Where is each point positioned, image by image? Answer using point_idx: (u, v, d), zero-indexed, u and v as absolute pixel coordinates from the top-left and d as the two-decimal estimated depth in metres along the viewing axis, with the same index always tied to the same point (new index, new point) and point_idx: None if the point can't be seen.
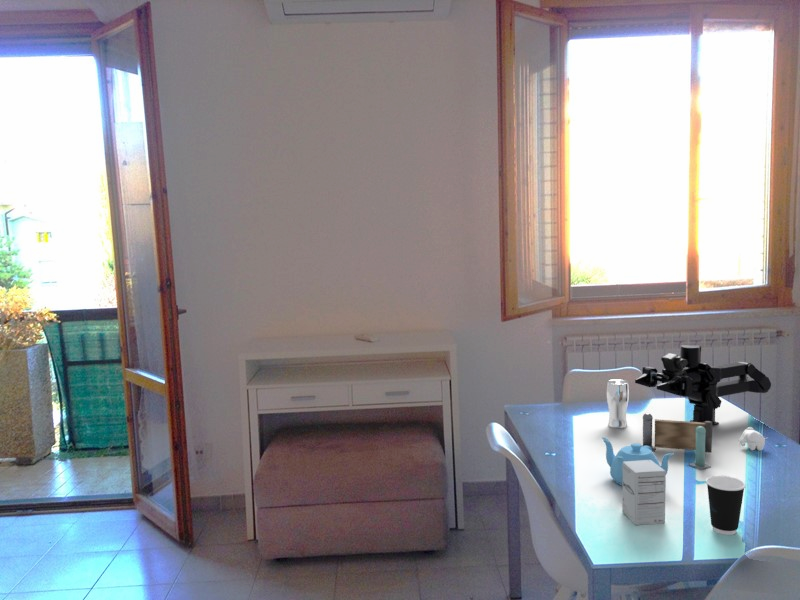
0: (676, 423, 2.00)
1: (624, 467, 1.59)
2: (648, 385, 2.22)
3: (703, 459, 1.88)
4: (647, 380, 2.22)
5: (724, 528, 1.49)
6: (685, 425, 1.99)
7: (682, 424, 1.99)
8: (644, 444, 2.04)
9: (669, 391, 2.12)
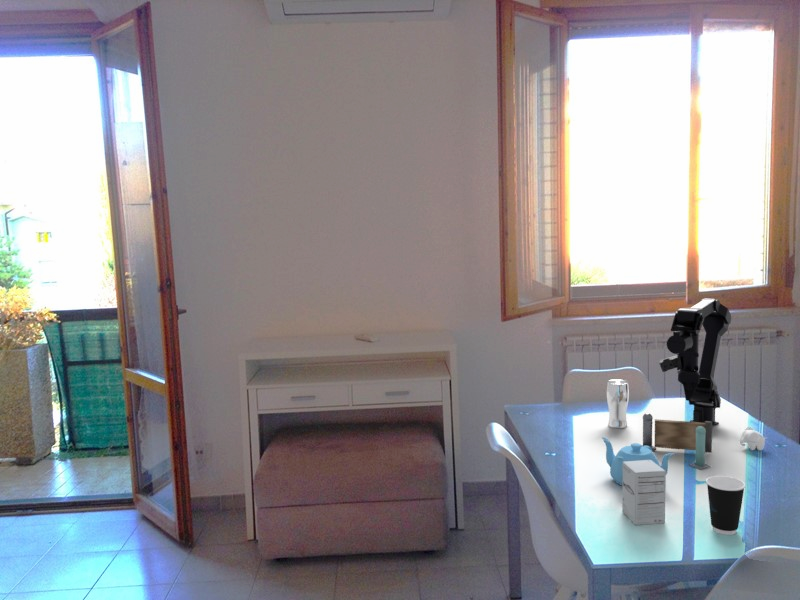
0: (676, 423, 2.00)
1: (624, 467, 1.59)
2: None
3: (703, 459, 1.88)
4: None
5: (724, 528, 1.49)
6: (685, 425, 1.99)
7: (682, 424, 1.99)
8: (644, 444, 2.04)
9: (693, 389, 2.10)
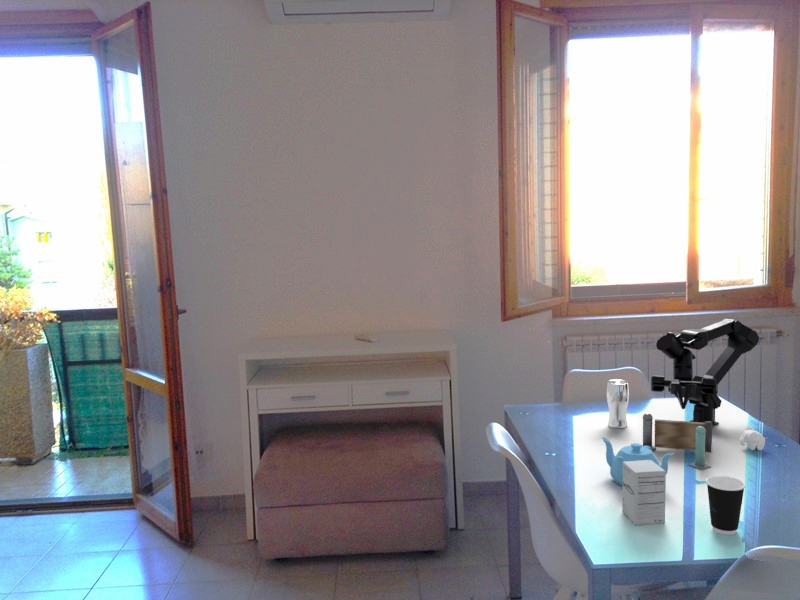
0: (676, 423, 2.00)
1: (624, 467, 1.59)
2: (685, 388, 2.11)
3: (703, 459, 1.88)
4: None
5: (724, 528, 1.49)
6: (685, 425, 1.99)
7: (682, 424, 1.99)
8: (644, 444, 2.04)
9: (678, 395, 2.11)
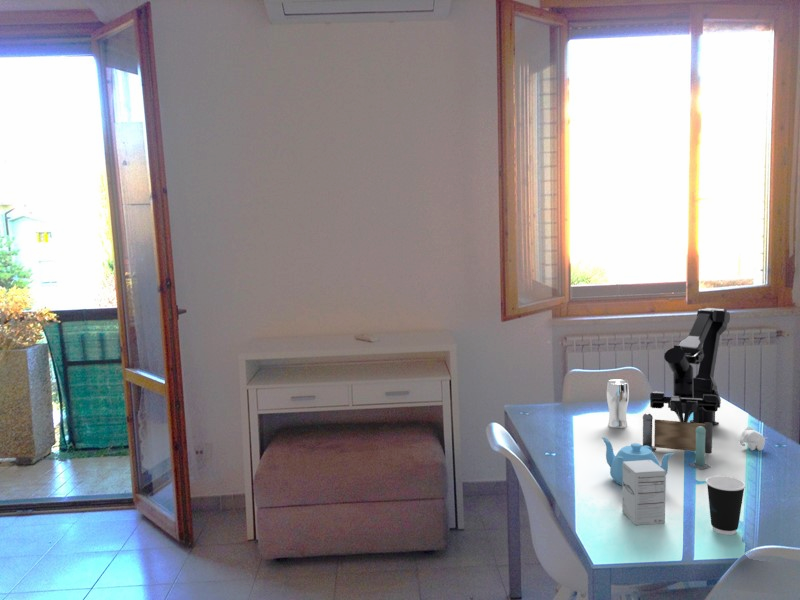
0: (676, 423, 2.00)
1: (624, 467, 1.59)
2: (685, 405, 2.02)
3: (703, 459, 1.88)
4: None
5: (724, 528, 1.49)
6: (685, 425, 1.99)
7: (682, 425, 1.99)
8: (644, 444, 2.04)
9: (678, 412, 2.02)
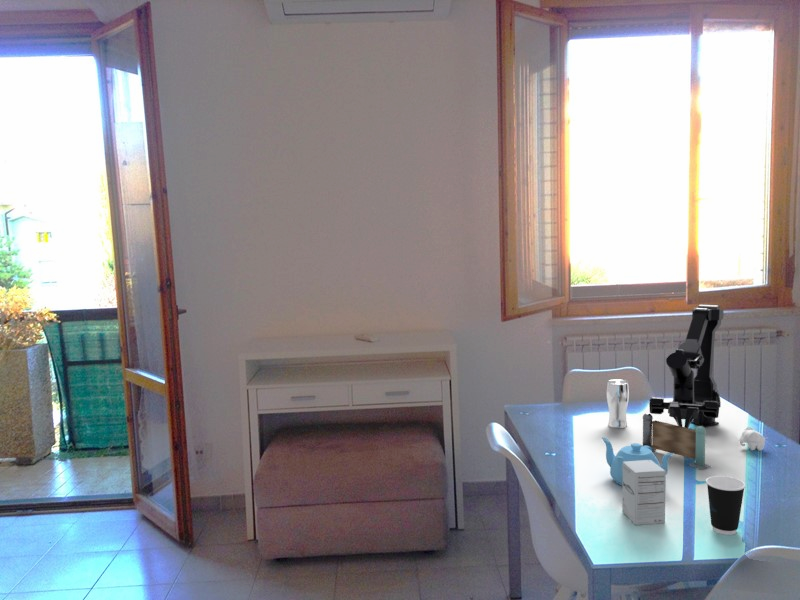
0: (670, 427, 1.97)
1: (624, 467, 1.59)
2: (686, 412, 1.97)
3: (703, 459, 1.88)
4: None
5: (724, 528, 1.49)
6: (678, 430, 1.95)
7: (676, 428, 1.96)
8: (644, 444, 2.04)
9: (677, 418, 1.98)
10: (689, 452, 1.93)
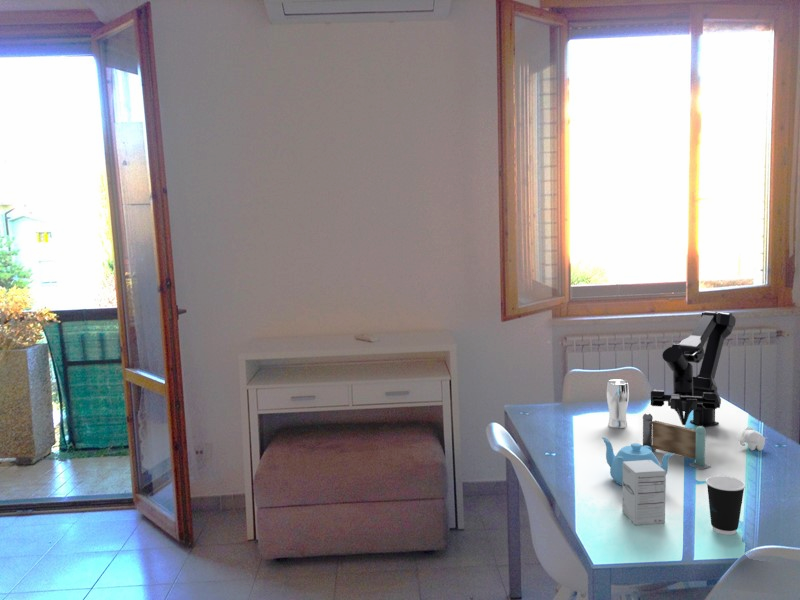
0: (670, 427, 1.97)
1: (624, 467, 1.59)
2: (685, 403, 2.05)
3: (703, 459, 1.88)
4: None
5: (724, 528, 1.49)
6: (678, 430, 1.95)
7: (676, 428, 1.96)
8: (644, 444, 2.04)
9: (678, 410, 2.05)
10: (689, 452, 1.93)
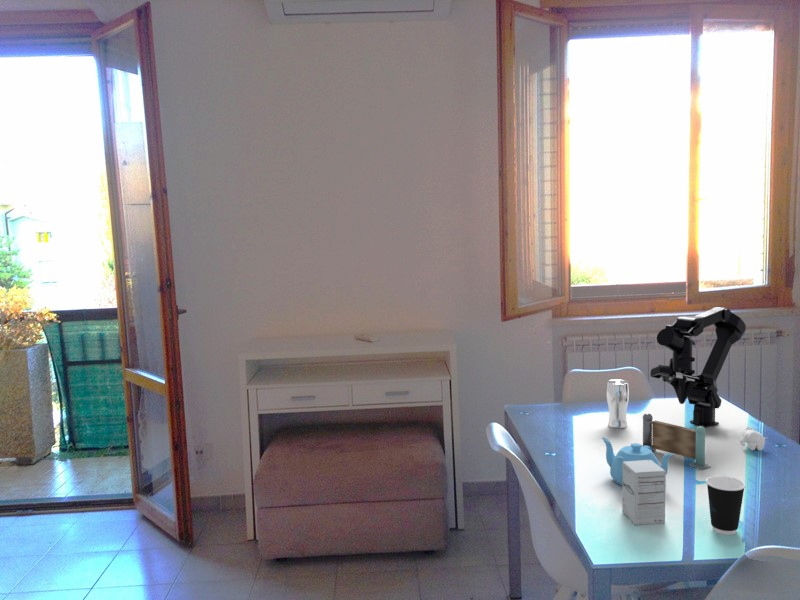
0: (670, 427, 1.97)
1: (624, 467, 1.59)
2: (688, 384, 2.11)
3: (703, 459, 1.88)
4: None
5: (724, 528, 1.49)
6: (678, 430, 1.95)
7: (676, 428, 1.96)
8: (644, 444, 2.04)
9: (680, 389, 2.10)
10: (689, 452, 1.93)
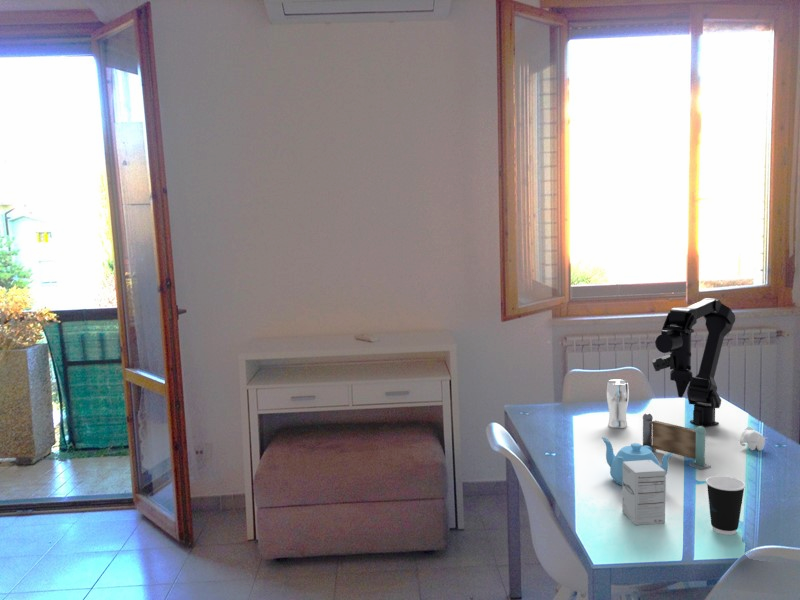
0: (670, 427, 1.97)
1: (624, 467, 1.59)
2: None
3: (703, 459, 1.88)
4: None
5: (724, 528, 1.49)
6: (678, 430, 1.95)
7: (676, 428, 1.96)
8: (644, 444, 2.04)
9: (685, 386, 2.14)
10: (689, 452, 1.93)
